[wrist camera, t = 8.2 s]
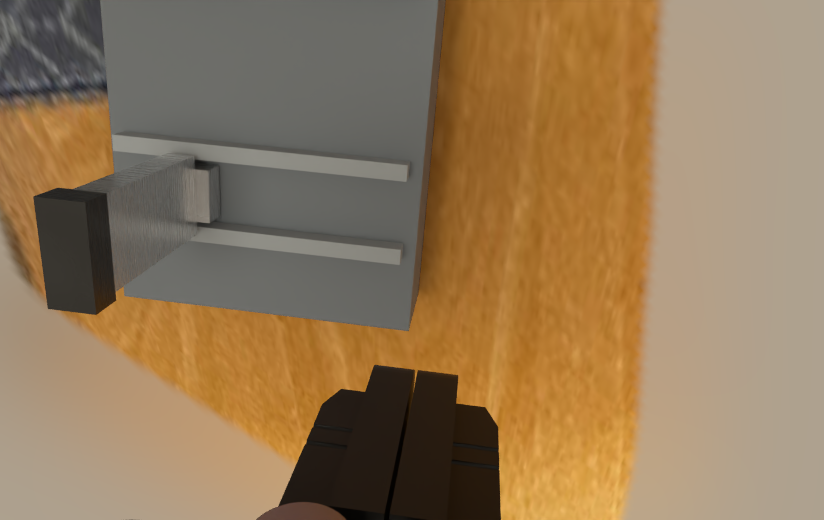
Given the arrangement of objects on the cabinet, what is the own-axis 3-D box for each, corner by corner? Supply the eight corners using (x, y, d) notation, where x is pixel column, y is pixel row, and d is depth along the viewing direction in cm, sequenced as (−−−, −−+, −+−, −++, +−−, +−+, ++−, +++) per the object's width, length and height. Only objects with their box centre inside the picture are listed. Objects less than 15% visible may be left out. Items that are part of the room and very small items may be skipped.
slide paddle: (167, 144, 24) (22, 195, 16) (218, 149, 24) (96, 203, 16) (171, 224, 25) (37, 307, 17) (220, 230, 25) (106, 316, 17)
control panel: (141, -244, 23) (50, -317, 18) (466, -225, 22) (461, -297, 18) (169, 263, 30) (108, 307, 25) (418, 292, 29) (405, 344, 24)
